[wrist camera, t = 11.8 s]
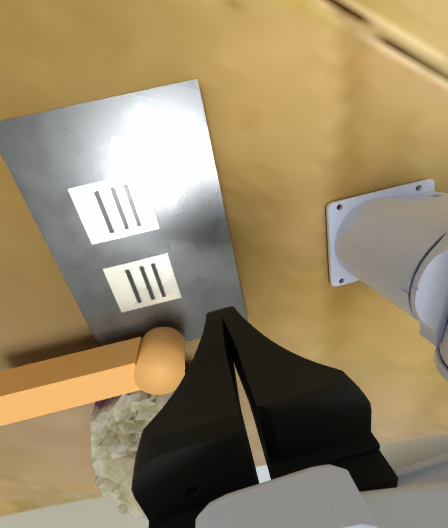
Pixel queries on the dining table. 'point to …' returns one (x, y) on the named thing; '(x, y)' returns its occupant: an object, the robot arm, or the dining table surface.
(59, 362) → the orange rectangular block
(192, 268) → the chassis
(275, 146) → the dining table surface
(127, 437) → the geode
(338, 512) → the robot arm
